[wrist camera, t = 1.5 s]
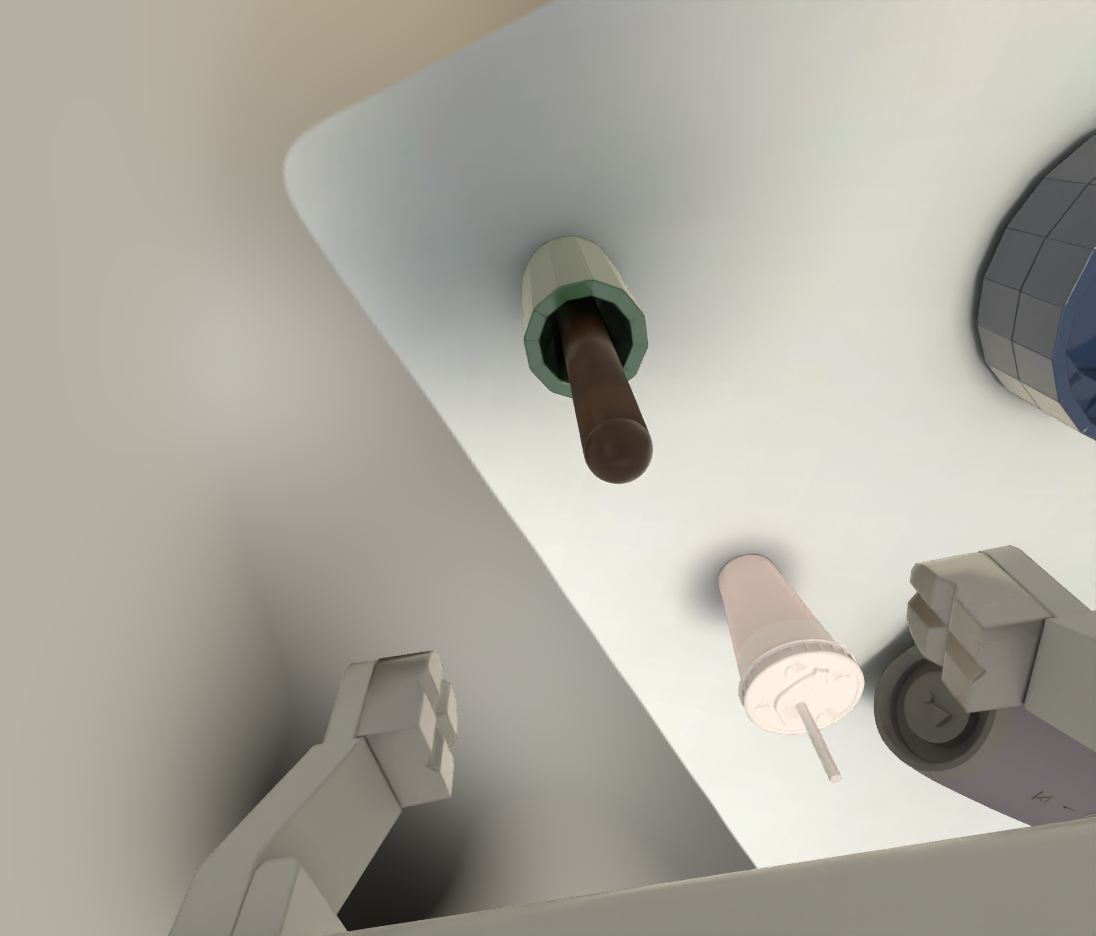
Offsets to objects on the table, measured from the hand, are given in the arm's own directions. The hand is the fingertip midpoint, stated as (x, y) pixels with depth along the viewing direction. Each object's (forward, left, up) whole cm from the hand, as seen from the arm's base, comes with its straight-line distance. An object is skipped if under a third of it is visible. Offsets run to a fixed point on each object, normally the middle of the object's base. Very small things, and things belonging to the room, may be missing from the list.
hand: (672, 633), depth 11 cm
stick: (0, 0, -24) cm, 24 cm away
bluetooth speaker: (+37, +26, -24) cm, 51 cm away
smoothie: (+21, +8, -24) cm, 33 cm away
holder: (0, 0, -24) cm, 24 cm away
